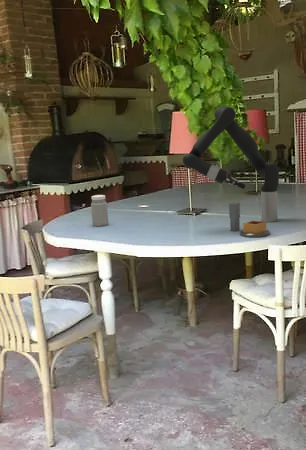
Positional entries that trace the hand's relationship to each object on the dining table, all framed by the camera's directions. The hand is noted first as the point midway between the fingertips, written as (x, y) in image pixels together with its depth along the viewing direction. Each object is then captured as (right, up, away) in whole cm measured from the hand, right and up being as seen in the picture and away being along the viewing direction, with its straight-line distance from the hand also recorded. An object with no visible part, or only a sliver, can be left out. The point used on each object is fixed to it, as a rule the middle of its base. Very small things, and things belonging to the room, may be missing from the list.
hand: (244, 187), depth 281 cm
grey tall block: (-4, -23, +6) cm, 24 cm away
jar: (-81, -20, +44) cm, 94 cm away
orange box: (+4, -25, -6) cm, 26 cm away
